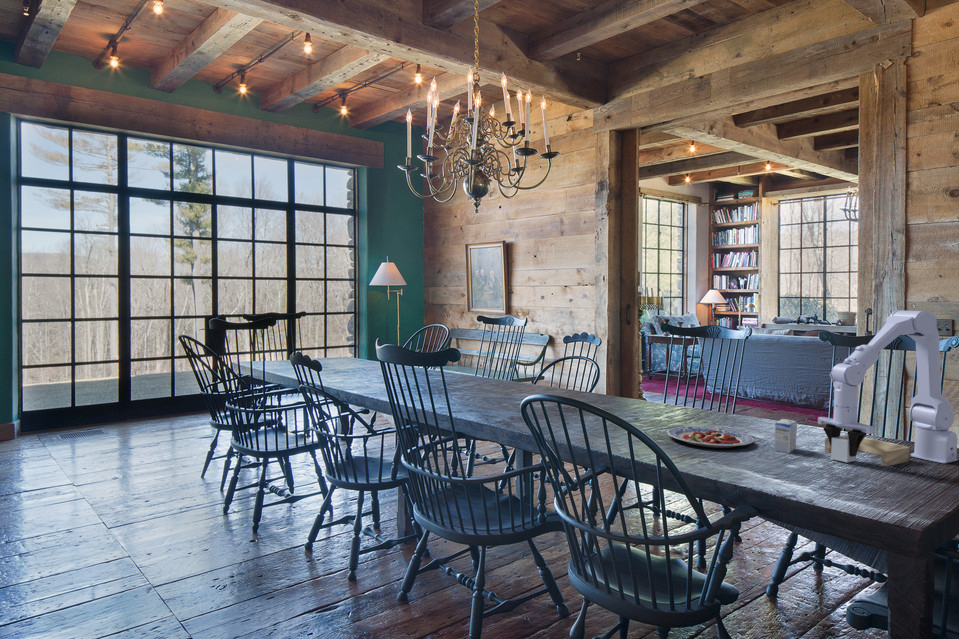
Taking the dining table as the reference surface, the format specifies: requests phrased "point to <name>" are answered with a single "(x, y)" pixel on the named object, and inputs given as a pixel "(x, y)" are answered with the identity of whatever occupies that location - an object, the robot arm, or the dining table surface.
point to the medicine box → (785, 435)
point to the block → (841, 449)
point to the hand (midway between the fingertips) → (843, 453)
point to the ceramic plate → (710, 436)
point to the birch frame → (881, 450)
